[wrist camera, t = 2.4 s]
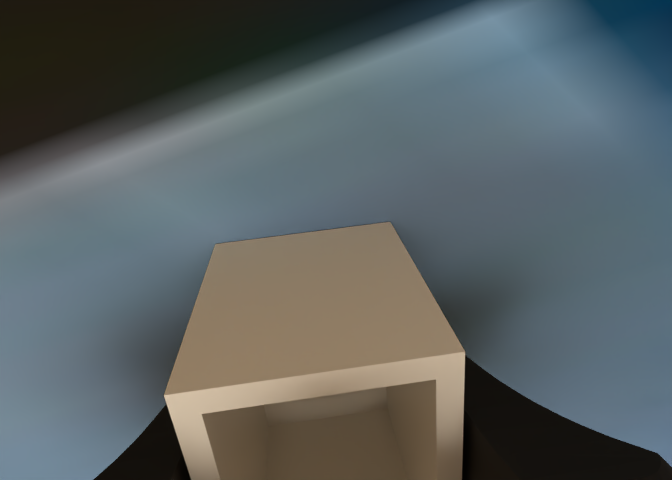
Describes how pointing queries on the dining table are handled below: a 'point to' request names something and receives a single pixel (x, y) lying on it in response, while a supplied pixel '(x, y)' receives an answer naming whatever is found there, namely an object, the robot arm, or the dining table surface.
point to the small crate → (318, 364)
